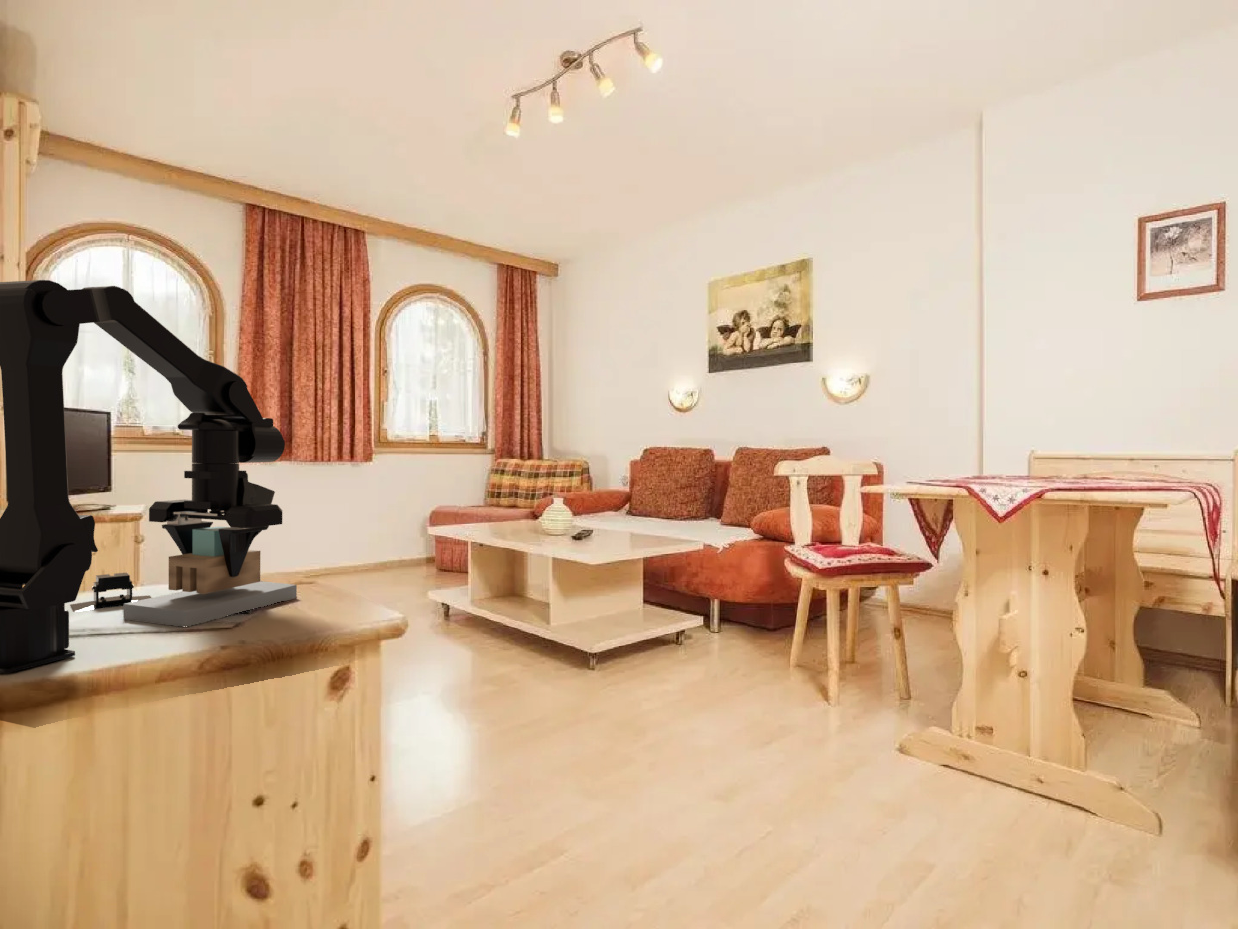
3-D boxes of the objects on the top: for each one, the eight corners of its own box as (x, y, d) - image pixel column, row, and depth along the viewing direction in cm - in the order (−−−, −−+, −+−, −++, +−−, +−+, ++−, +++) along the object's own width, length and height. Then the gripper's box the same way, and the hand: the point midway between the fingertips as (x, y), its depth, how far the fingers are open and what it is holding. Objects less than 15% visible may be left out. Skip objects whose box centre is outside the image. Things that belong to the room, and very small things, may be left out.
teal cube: (214, 556, 93) (214, 531, 93) (192, 554, 94) (192, 529, 94) (239, 552, 97) (239, 528, 97) (218, 550, 98) (218, 526, 98)
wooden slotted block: (204, 593, 90) (204, 559, 90) (168, 589, 92) (168, 556, 92) (260, 581, 99) (260, 550, 99) (226, 578, 101) (226, 547, 101)
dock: (185, 627, 85) (185, 611, 85) (123, 619, 89) (123, 603, 89) (296, 598, 102) (296, 584, 102) (240, 591, 106) (240, 579, 106)
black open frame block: (160, 596, 104) (159, 567, 104) (169, 605, 99) (169, 574, 99) (55, 609, 96) (54, 576, 96) (59, 619, 91) (59, 585, 90)
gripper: (312, 464, 100) (311, 570, 100) (216, 461, 106) (216, 561, 106) (248, 465, 89) (248, 584, 89) (146, 462, 95) (146, 573, 95)
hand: (215, 574), depth 95 cm, fingers closed on wooden slotted block, 6 cm apart
